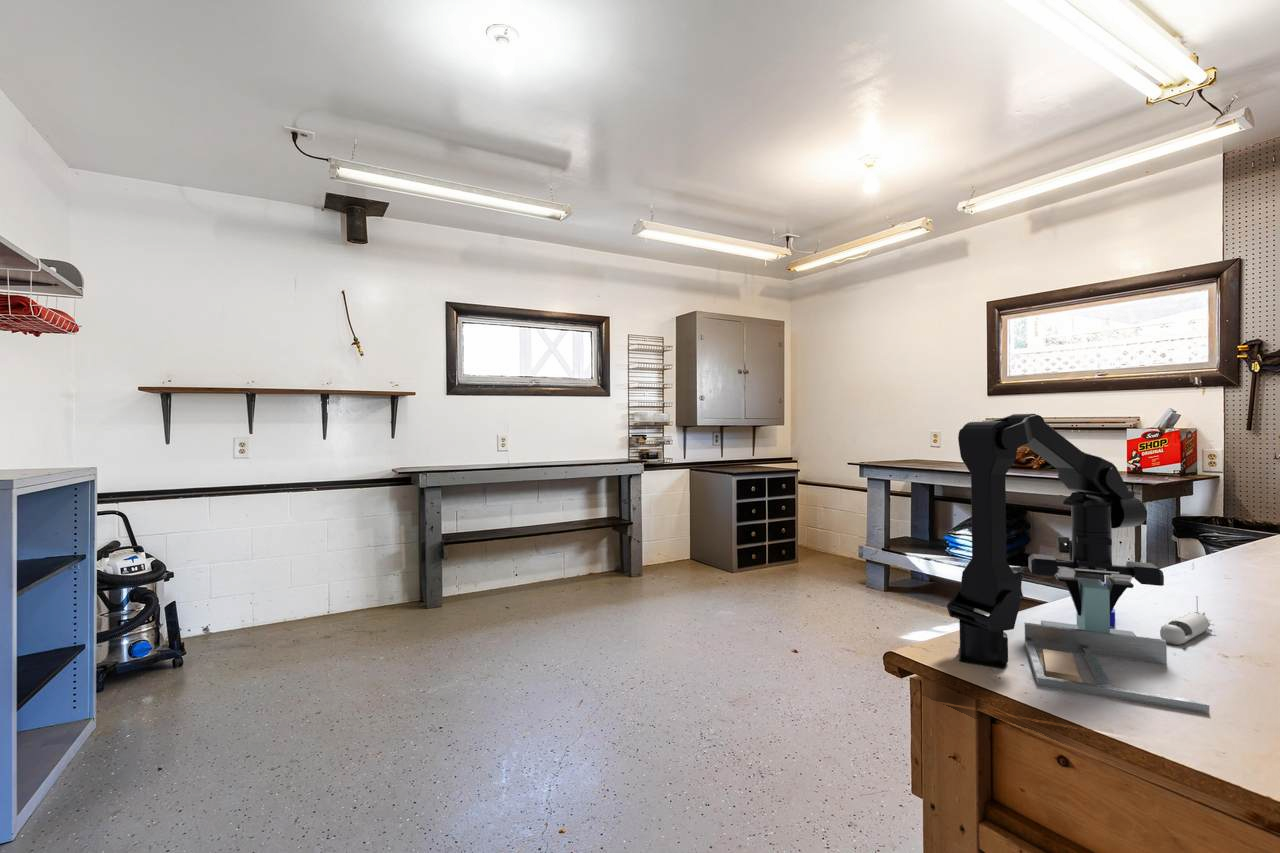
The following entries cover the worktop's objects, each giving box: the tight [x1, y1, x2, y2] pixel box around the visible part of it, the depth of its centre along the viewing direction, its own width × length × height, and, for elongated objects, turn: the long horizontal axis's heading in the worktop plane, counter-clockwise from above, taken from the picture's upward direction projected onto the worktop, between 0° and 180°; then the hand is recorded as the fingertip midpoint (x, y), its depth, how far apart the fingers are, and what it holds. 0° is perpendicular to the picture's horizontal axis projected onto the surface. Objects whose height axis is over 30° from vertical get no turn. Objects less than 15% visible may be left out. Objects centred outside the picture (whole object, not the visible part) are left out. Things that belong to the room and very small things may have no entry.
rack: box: [1023, 622, 1210, 715], centre depth 90 cm, size 19×19×4 cm
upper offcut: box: [1042, 648, 1079, 682], centre depth 92 cm, size 4×10×1 cm, turn 148°
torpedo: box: [1159, 595, 1215, 646], centre depth 107 cm, size 18×5×7 cm, turn 122°
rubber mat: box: [1040, 620, 1137, 636], centre depth 105 cm, size 14×14×1 cm
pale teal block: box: [1075, 576, 1111, 633], centre depth 105 cm, size 4×8×9 cm, turn 151°
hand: (1092, 616), depth 105 cm, fingers closed on pale teal block, 3 cm apart
